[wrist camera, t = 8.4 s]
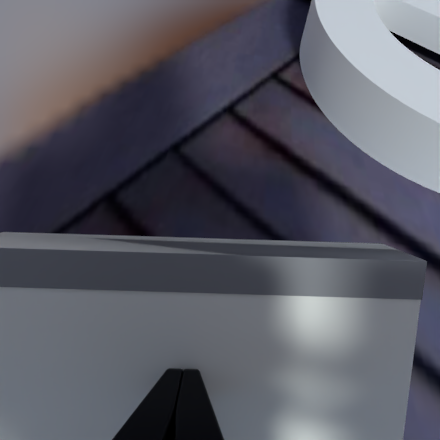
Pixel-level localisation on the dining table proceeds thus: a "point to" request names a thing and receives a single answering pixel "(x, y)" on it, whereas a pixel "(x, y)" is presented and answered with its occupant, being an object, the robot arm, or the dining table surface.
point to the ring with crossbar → (378, 79)
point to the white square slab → (206, 333)
